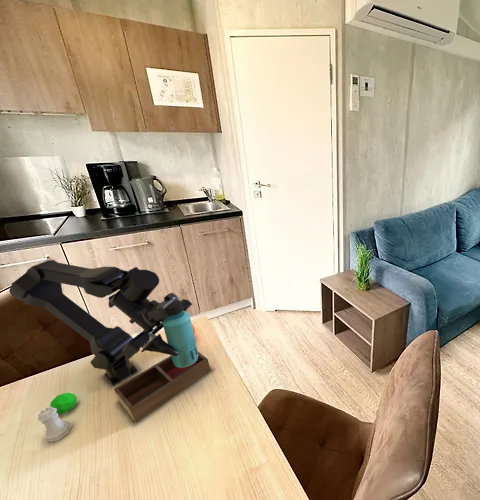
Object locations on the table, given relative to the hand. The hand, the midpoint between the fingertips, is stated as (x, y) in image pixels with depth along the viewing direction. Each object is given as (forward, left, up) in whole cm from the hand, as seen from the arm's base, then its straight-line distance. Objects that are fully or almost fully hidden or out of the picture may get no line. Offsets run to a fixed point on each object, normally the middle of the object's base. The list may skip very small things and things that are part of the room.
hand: (185, 347), depth 76 cm
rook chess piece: (-15, -27, -15) cm, 34 cm away
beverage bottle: (-2, 0, -7) cm, 7 cm away
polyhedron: (-22, -24, -15) cm, 35 cm away
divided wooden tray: (-8, -5, -15) cm, 17 cm away
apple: (-22, +7, -15) cm, 27 cm away
